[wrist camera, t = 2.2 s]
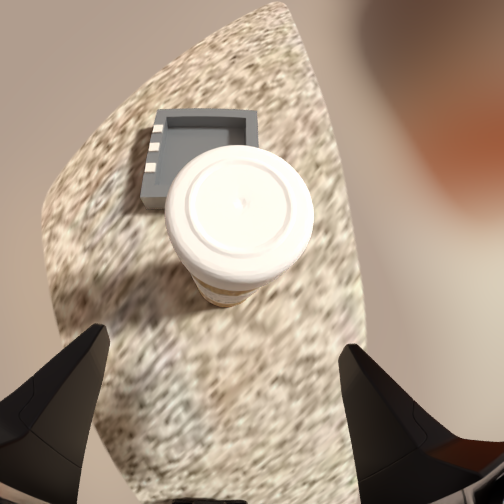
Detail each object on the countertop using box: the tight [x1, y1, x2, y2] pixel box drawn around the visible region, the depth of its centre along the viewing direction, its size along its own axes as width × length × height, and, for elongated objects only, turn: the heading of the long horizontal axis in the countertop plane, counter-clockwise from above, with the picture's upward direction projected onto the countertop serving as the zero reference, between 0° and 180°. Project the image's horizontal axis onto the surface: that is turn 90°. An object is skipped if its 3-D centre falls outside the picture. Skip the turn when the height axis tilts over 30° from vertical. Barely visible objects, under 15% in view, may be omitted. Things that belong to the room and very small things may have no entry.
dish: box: [140, 108, 259, 209], centre depth 22 cm, size 9×9×2 cm
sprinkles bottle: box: [165, 145, 314, 307], centre depth 14 cm, size 5×5×13 cm
